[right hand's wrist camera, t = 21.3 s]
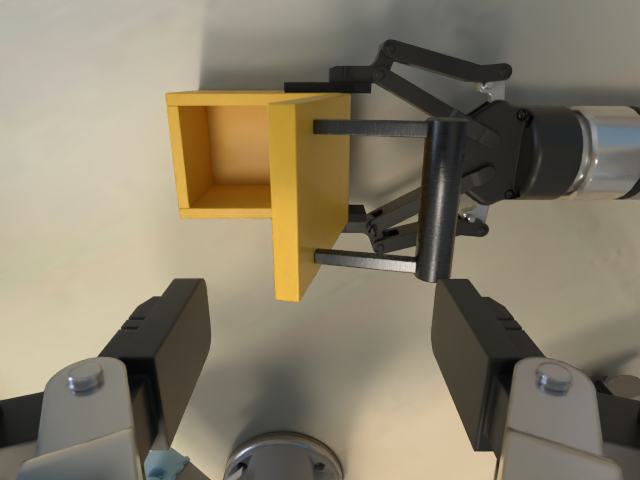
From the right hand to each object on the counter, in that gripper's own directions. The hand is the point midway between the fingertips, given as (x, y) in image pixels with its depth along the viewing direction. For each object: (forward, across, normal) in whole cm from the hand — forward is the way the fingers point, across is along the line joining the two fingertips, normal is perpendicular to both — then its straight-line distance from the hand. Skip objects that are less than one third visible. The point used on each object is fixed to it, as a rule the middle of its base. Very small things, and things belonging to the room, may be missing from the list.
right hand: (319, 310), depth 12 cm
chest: (+32, +5, 0) cm, 32 cm away
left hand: (+25, +3, 0) cm, 26 cm away
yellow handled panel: (+16, +1, 0) cm, 16 cm away
